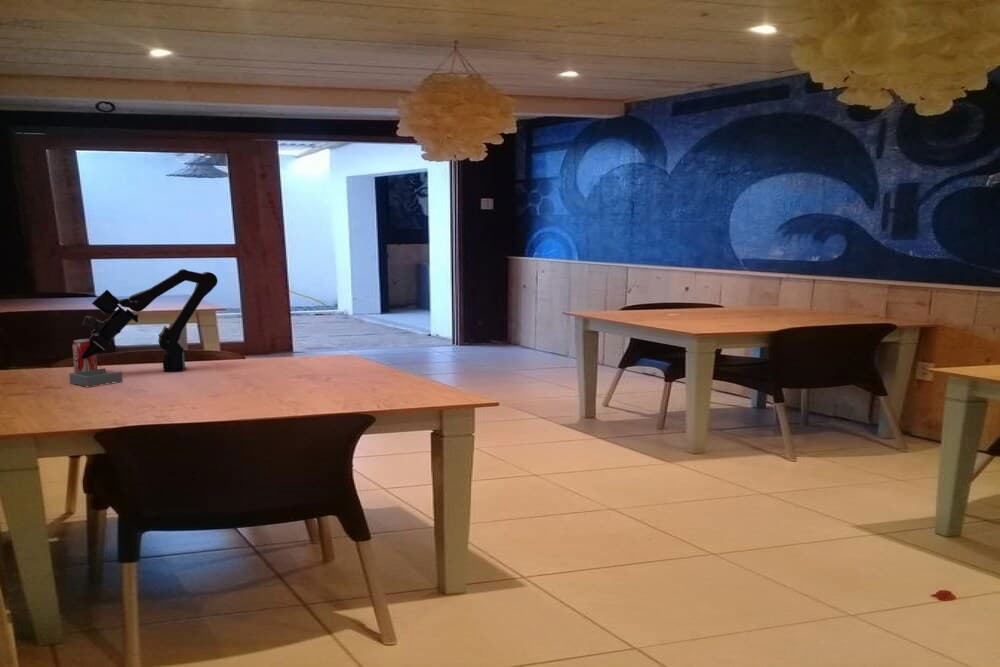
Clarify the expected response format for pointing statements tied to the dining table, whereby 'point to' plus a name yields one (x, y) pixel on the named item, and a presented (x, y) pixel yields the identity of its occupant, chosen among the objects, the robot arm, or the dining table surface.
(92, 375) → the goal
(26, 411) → the dining table surface
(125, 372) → the dining table surface
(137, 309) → the robot arm
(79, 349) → the soda can
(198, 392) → the dining table surface
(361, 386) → the dining table surface
